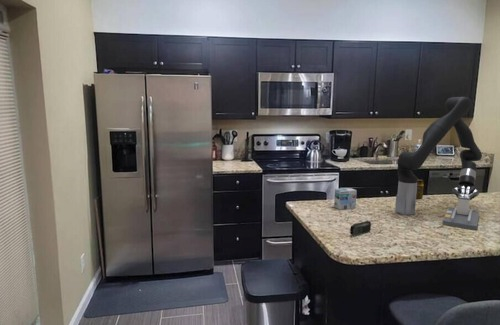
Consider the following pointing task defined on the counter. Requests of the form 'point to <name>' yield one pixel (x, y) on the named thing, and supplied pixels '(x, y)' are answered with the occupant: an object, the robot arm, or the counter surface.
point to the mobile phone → (360, 228)
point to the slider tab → (463, 205)
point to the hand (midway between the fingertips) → (463, 204)
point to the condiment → (419, 190)
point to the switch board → (461, 219)
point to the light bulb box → (345, 198)
